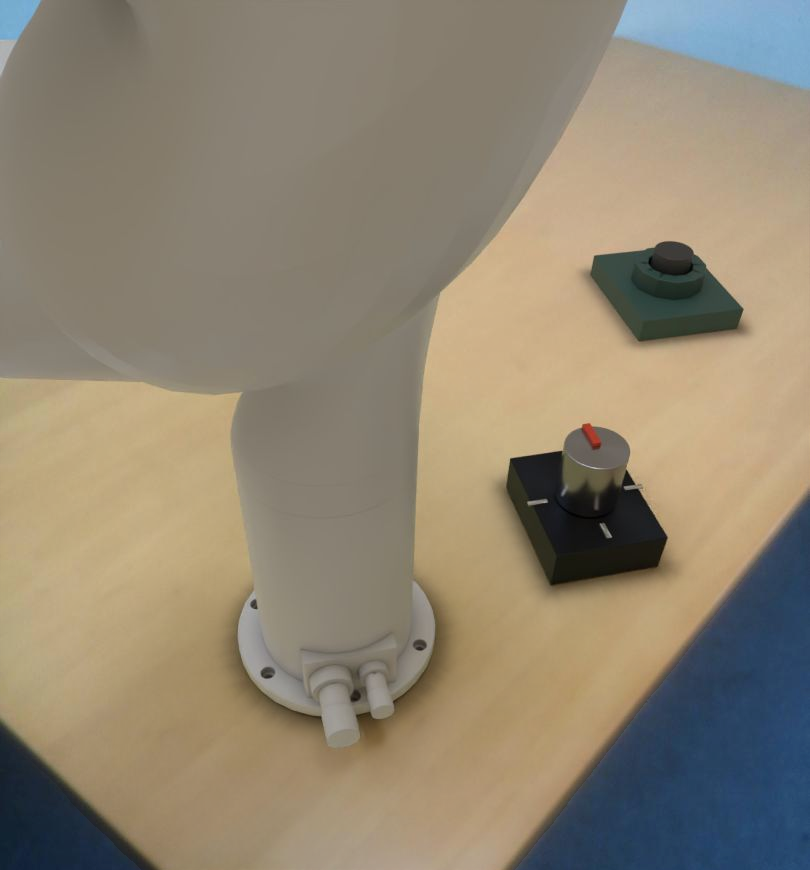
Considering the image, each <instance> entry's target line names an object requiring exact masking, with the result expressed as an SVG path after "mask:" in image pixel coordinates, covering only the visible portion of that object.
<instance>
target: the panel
mask: <svg viewBox="0 0 810 870" xmlns="http://www.w3.org/2000/svg"><path fill="white" fill-rule="evenodd" d="M562 452H563V450H556V451H550V452H549V451H548V452H542V453H535V454H530V455H529V454H528V455H523V456H522V455H521V456H516V457H510V458H509V463H508V470H507V477H506V485H505V488H506V491H507V492H508V495H509V498H510V499H511V502H512V504H513V506H514V509H515V511H516V513H517V515H518V518H519V519H520V522H521V524H522V526H523V528H524V530H525V532H526V535H527V537H528V539H529V541H530V543H531V546H532V548H533V550H534V552H535V554H536V556H537V559H538V560H539V563H540V564H541V565H540V566H541V567H542V570H543V571H544V574H545V576H546V579H547V580H548V583H549V584H550V586H554V585H561V584H565V583H572V582H577V581H583V580H588V579H595V578H600V577H606V576H611V575H616V574H617V575H618V574H622V573H628V572H634V571H640V570H646V569H651V568H657V567H659V565H660V562H661V559H662V556H663V554H664V550H665V548H666V545H667V541H668V539H669V537H668V535H667V533H666V532H665V530H664V529H663V528H664V527H662V525H661V524H660V522H659V520H658V518H657V517H656V515H655V513H654V512H653V511H652V509H651V507H650V506H649V505H650V504H649V503H648V502H647V500H646V499H645V497H644V495H643V494H642V492H641V490H643V489H644V485H643V484H642V483H638V484H636V482H635V481H634V479H633V477H632V476H631V474H630V472H629V471H628V469H627V468H626V472H625V475H624V479H623V482H622V486H621V490H620V493H619V497H618V501H617V504H616V506H615V507H614V509H613V510H612V511H611V512H609V513H607V514H605V515H603V516H599V517H583V516H579V515H576V514H573V513H571V512H569V511H567V510H566V509H564V508H563V507H562V506H561V505H560V504H559V503H558V501H557V499H556V497H555V487H556V482H557V477H558V472H559V467H560V462H561V457H562Z"/></svg>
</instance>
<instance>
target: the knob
mask: <svg viewBox="0 0 810 870" xmlns="http://www.w3.org/2000/svg"><path fill="white" fill-rule="evenodd" d="M562 451H563V452H562V457H561V462H560V467H559V472H558V477H557V482H556V487H555V497H556V499H557V501H558V503H559V504H560V505H561V506H562V507H563V508H564V509H566V510H567V511H569V512H571V513H573V514H576V515H579V516H583V517H599V516H603V515H605V514H607V513H609V512H611V511H612V510H613V509H614V507H615V506H616V504H617V501H618V497H619V493H620V490H621V486H622V482H623V479H624V475H625V472H626V469H627V468H628V464H629V460H630V457H631V447H630V445H629V443H628V441H627V439H626V438H624V437H623V436H622V435H621V434H620V433H618V432H616V431H614V430H611V429H609V428H606V427H602V426H593V425H592V424H591V422H588V423H582V425H581V427H579V428H576V429H574V430H572V431H570V433H568V435H566V437H565V438H564V443H563V447H562Z"/></svg>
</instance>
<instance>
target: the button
mask: <svg viewBox="0 0 810 870" xmlns="http://www.w3.org/2000/svg"><path fill="white" fill-rule="evenodd" d="M654 247H655V248H654ZM654 247H653V248H654V252H653V256H652V260H651V268H652V269H654V270H656V271H658V272H660V273H662V274H667V275H673V276H678V275H686V274H687V273H688V272H689V269H690V266H691V262H692V259H693V255H694V254H695V252H694V250H693V248H692V247H690V246H689V245H688V244H686V243H683V242H680V241H675V240H665V241H660V242H658V243H657V244H656V245H655V246H654Z"/></svg>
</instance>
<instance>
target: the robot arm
mask: <svg viewBox="0 0 810 870" xmlns="http://www.w3.org/2000/svg"><path fill="white" fill-rule="evenodd" d="M627 3H628V0H40V1H39V3H38V5H37V6H36V9H35V11H34V12H33V14H32V15H31V18H30V19H29V20H28V22H27V24H26V25H25V26H24V28H23V30H22V31H21V32H20V34H19V36H18V37H17V39H0V378H1V379H16V380H38V381H39V380H41V381H42V380H43V381H76V382H77V381H78V382H79V381H80V382H81V381H82V382H84V381H85V382H116V383H117V382H121V383H143V384H146V385H150V386H153V387H156V388H159V389H162V390H166V391H169V392H174V393H183V394H184V393H185V394H194V395H195V394H196V395H207V396H220V395H221V396H222V395H230V394H239V393H241V394H240V395H239V398H238V400H237V402H236V406H235V409H234V412H233V416H232V419H231V424H230V433H229V435H230V438H229V440H230V450H231V457H232V463H233V464H232V465H233V469H234V475H235V480H236V486H237V493H238V499H239V506H240V510H241V516H242V517H241V518H242V521H243V529H244V534H245V540H246V541H245V542H246V546H247V547H246V548H247V552H248V560H249V565H250V571H251V576H252V577H251V578H252V584H253V589H254V590H253V591H252V592H251V593H250V595H249V596H248V598H247V600H246V601H245V603H244V605H243V607H242V610H241V613H240V615H239V619H238V627H237V642H238V650H239V654H240V658H241V662H242V664H243V667H244V669H245V671H246V673H247V675H248V677H249V678H250V680H251V681H252V682H253V684H254V685H256V687H257V688H258V689H259V690H260V692H261V693H263V694H264V695H265V696H267V697H268V698H270V699H271V700H272V701H274V702H275V703H277V704H279V705H281V706H283V707H285V708H287V709H289V710H291V711H294V712H297V713H301V714H305V715H308V716H314V717H321V720H322V726H323V732H324V736H325V742H326V745H327V746H328V747H330V748H332V749H345V748H348V747H350V746H353V745H355V744H356V743H357V742H358V741H360V738H361V732H360V728H359V727H360V725H359V722H358V718H357V715H362V714H365V713H370V714H371V718H373V719H376V720H383V719H386V718H389V717H391V716H392V715H394V714H395V711H396V709H395V708H396V707H395V705H394V701H395V700H397V699H398V698H400V697H402V696H403V695H404V694H405V693H407V692H409V690H410V689H411V688H412V687H413V686H414V685H415V684H416V683H417V682H418V681H419V680H420V678H421V676H422V675H423V673H424V672H425V671H426V670H427V668H428V665H429V663H430V660H431V658H432V655H433V652H434V648H435V647H434V646H435V640H436V620H435V615H434V610H433V607H432V604H431V602H430V600H429V599H428V596H427V594H426V593H425V591H424V590H423V589H422V588H421V586H420V585H419V583H418V582H417V581H416V580H415V579H414V567H415V565H414V564H415V561H414V560H415V540H416V516H417V515H416V514H417V492H418V490H417V489H418V488H417V487H418V465H419V464H418V463H419V462H418V460H419V443H420V442H419V440H420V423H421V422H420V421H421V412H422V411H421V410H422V409H421V408H422V399H423V388H424V376H425V369H426V363H427V358H428V352H429V346H430V341H431V337H432V331H433V327H434V322H435V318H436V313H437V309H438V305H439V301H440V296H441V294H442V292H443V291H444V290H445V289H446V288H447V287H448V286H449V285H451V283H453V282H454V280H456V279H457V278H458V277H459V276H460V275H461V274H462V273H463V272H464V271H465V270H466V269H468V267H469V266H470V265H472V263H473V262H474V261H475V260H476V259H477V258H478V257H479V256H480V255H481V253H482V252H483V251H484V250H485V249H486V248H487V247H488V246H489V244H490V243H491V242H492V241H493V240H494V239H495V238H496V236H498V234H499V233H500V231H501V230H502V228H503V227H504V226H505V224H506V223H507V221H508V220H509V219H510V218H511V216H512V215H513V213H514V211H515V210H516V209H517V207H518V206H519V205H520V203H521V202H522V200H523V199H524V197H525V196H526V194H527V193H528V191H529V190H530V189H531V187H532V185H533V183H534V182H535V180H536V179H537V178H538V176H539V174H540V172H541V171H542V169H543V168H544V166H545V164H546V163H547V161H548V160H549V158H550V157H551V155H552V153H553V151H554V150H555V149H556V147H557V146H558V144H559V142H560V141H561V140H562V137H563V136H564V134H565V132H566V130H567V128H568V126H569V125H570V123H571V121H572V119H573V117H574V116H575V113H576V111H577V109H578V107H579V106H580V104H581V102H582V101H583V98H584V97H585V95H586V94H587V92H588V90H589V88H590V86H591V84H592V81H593V79H594V78H595V75H596V73H597V70H598V69H599V66H600V65H601V63H602V61H603V58H604V56H605V53H606V52H607V49H608V47H609V45H610V43H611V40H612V38H613V36H614V35H615V32H616V30H617V27H618V25H619V23H620V21H621V18H622V15H623V14H624V11H625V8H626V5H627Z"/></svg>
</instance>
